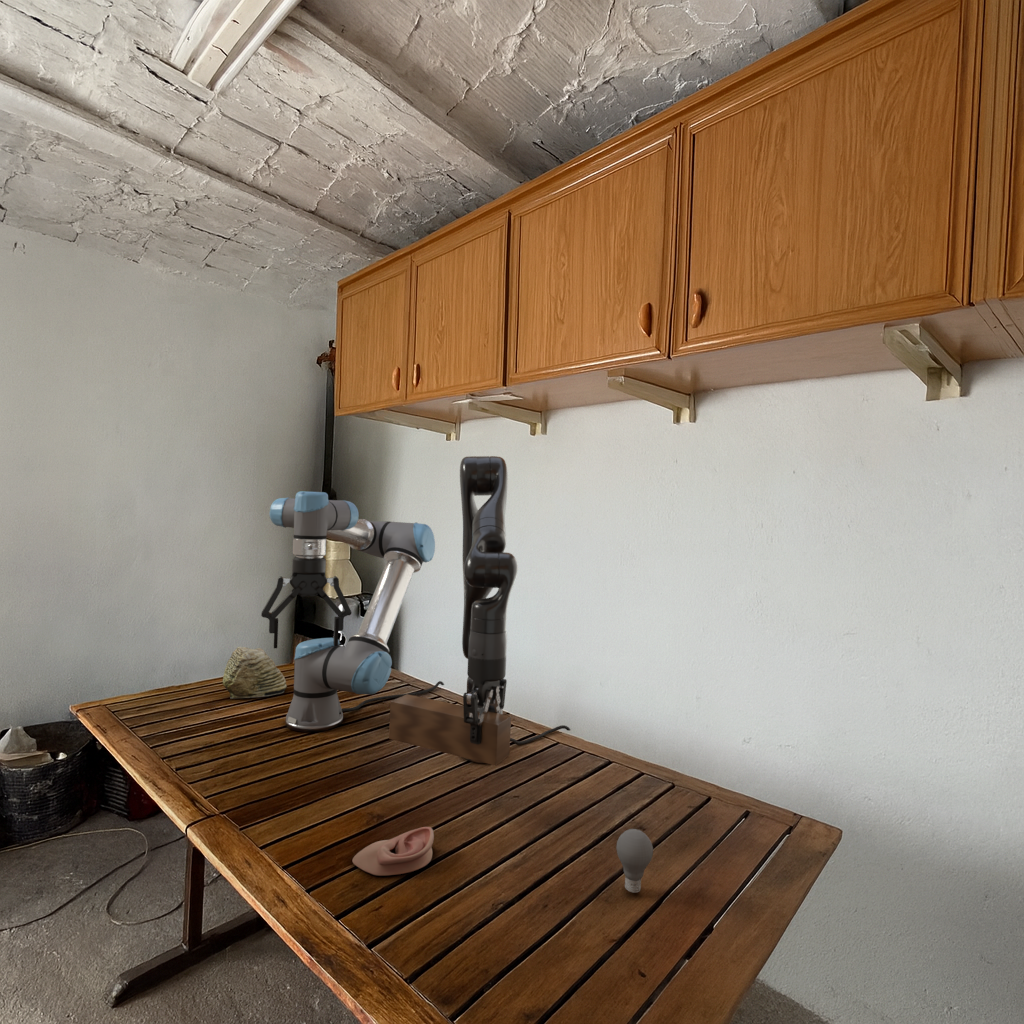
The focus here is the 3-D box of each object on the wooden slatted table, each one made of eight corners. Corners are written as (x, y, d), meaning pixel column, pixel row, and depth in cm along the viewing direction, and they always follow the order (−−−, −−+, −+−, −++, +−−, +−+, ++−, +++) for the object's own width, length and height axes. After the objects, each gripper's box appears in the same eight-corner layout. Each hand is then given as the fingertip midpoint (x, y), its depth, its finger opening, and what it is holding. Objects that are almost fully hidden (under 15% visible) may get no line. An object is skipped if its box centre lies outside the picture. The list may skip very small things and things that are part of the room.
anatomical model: (344, 847, 108) (373, 814, 119) (343, 870, 108) (372, 835, 119) (418, 859, 105) (440, 825, 116) (417, 883, 105) (439, 846, 116)
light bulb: (610, 879, 108) (613, 822, 108) (644, 879, 109) (647, 822, 109) (619, 902, 102) (622, 840, 102) (655, 901, 103) (658, 840, 103)
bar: (388, 738, 131) (390, 701, 131) (405, 730, 137) (406, 694, 136) (495, 765, 120) (497, 725, 120) (509, 755, 126) (511, 716, 125)
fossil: (218, 695, 195) (220, 647, 195) (278, 685, 208) (279, 640, 207) (228, 703, 189) (230, 653, 188) (289, 692, 201) (290, 645, 201)
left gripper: (252, 557, 142) (248, 652, 142) (365, 558, 151) (361, 647, 151) (252, 554, 149) (249, 644, 149) (360, 555, 158) (357, 640, 158)
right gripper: (486, 663, 116) (483, 754, 117) (520, 648, 129) (516, 730, 130) (451, 657, 120) (448, 746, 120) (487, 643, 133) (484, 723, 133)
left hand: (306, 645), depth 150 cm, fingers open, 13 cm apart
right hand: (483, 737), depth 125 cm, fingers closed on bar, 6 cm apart
